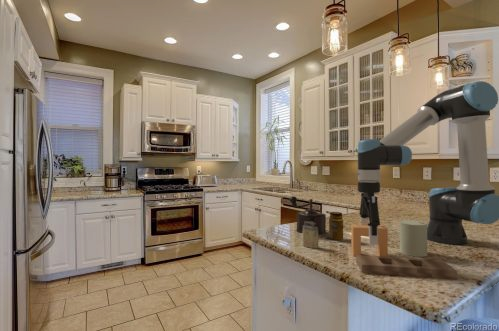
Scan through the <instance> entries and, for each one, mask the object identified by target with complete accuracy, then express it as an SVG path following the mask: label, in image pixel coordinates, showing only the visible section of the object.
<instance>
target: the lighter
mask: <svg viewBox="0 0 499 331" xmlns="http://www.w3.org/2000/svg"><path fill="white" fill-rule="evenodd" d="M308 224H310V226H309V225H308ZM314 225H316V223H313V222H308V221H306V222H304V226H303V233H302V246H303V247H306V248H311V249H319V234H318V227H314Z"/></svg>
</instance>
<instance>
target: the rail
mask: <svg viewBox="0 0 499 331" xmlns="http://www.w3.org/2000/svg"><path fill="white" fill-rule="evenodd" d="M355 258H356V259H355V263H356V265H357V267H358V268H359V270H360V271H361V273H362V274H375V275H377V274H378V275H389V276H390V275H392V276H393V275H394V276H408V277H421V278H422V277H423V278H435V279H449V280H458V271H457V269H456V268H454V267H452V266H451V265H449V264H448V263H447V262H446V261H444V260H442V259H430V258H417V257H416V258H415V257H413V258H412V257H400V256H399V257H397V256H396V257H395V256H388V257H382V256H378V255H363V254H361V255H356V256H355Z"/></svg>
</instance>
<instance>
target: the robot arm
mask: <svg viewBox="0 0 499 331" xmlns="http://www.w3.org/2000/svg"><path fill="white" fill-rule="evenodd" d="M498 94H499V93H497V90H496V89H495V87H494V86H493V85H491V84H490V83H489V82H487V81H483V80H481V81H480V80H478V81H474V82H469V83H466V84H463V85H460V86H457V87H454V88H450V89H447V90H444V91H442V92H440V93H438V94H437V95H435V96H434V97H433V98H431V99H429V100H428V101H427V102H426V103H424V104H423V105H421V106H420V107H419V108H418V109H417V112H416V113H415V114H413V115H412V116H410V117H409V118H408V119H406V120H405V121H403V123H401V124H399V125H398V126H397V127H396V128H395V129H393V130H391V131H390V132H389V133H387V135H385V136H383V137H382V138H381V139H380V140H379V139H378V138H377V139H376V138H368V139H365V138H364V139H360V140H359V141H358V142H357V143H358V144H357V172H356V173H355V174H356V176H357V180H358V182H357V192H359V193H360V195H361V197H360V204H359V205H360V207H359V215H360V225H365V226H369V236H368V245H369V246H370V245H371V246H377V245H378V226H381V222H380V221H381V220H380V214H379V206H378V196H375V194H379V193H380V192H381V183H380V181H381V166H399V167H400V166H406V165H409V164H410V162H411V161H412V159H413V151H412V149H411V148H410V147H409V146H407V145H405V144H406V143H408V142H409V141H411V140H412V139H414V138H416V136H418V135H419V134H420V133H422V132H423V131H425V130H426V129H427V128H429V127H430V126H435V125H437V124H438V123H440V122H441V121H444V120H447V119H451V121H452V123H455V124H456V129H457V130H456V131H457V147H458V161H459V162H458V163H459V164H458V165H459V180H460V181H459V182H460V183H459V184H458V186H456V187H455V186H454V187H436V188H435V187H434V188H431V189H430V190H429V197H428V200H429V201H428V204H429V222H428V223H427V224H428V225H427V240H428V241H432V242H436V243H440V244H448V245H465V244H468V235H467V233H466V231H465V227H464V225H463V221H467V222H471V223H475V224H481V225H491V224H494V223H496V222H498V221H499V195H498V194H496V190H495V189H496V188H495V187H494V186H493V185H491V184H490V181H489V180H490V178H489V161H488V145H487V143H488V142H487V129H486V128H487V126H486V121H487V120H488V119H489V118H490V117H491V111H492V110H493V109H495V108H496V107H497V105H498V102H499V95H498Z"/></svg>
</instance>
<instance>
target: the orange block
mask: <svg viewBox="0 0 499 331" xmlns="http://www.w3.org/2000/svg"><path fill="white" fill-rule="evenodd" d="M350 226H351V228H350V229H351V231H350V232H351V233H350V234H351V242H350V243H351V248H350V249H351V254H352V257H356V255H362V237H369V226H365V225H361V224H351V225H350ZM388 230H389V229H388V227H386V226H385V225H378V245H376V256H382V257H389V254H388V253H389V252H388V248H389V247H388V245H389V242H388V240H389V239H388V238H389V236H388V235H389V234H388Z"/></svg>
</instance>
